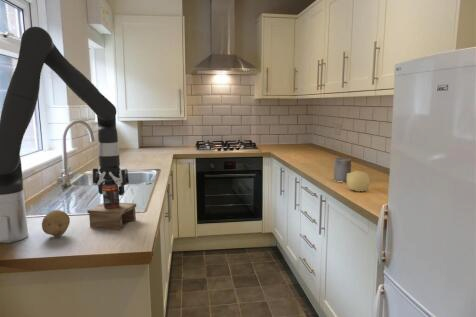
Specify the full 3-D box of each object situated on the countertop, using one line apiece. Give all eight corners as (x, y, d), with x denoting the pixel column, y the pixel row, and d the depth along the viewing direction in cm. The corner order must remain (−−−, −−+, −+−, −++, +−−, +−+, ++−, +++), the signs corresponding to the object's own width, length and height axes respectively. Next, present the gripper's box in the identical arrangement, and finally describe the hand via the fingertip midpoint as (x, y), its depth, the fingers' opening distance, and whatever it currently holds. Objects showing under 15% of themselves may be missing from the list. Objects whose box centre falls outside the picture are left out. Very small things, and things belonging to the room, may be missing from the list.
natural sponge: (64, 241, 122) (62, 214, 120) (38, 242, 121) (35, 215, 120) (74, 232, 131) (72, 206, 129) (50, 233, 130) (47, 207, 129)
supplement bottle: (121, 204, 142) (119, 177, 140) (117, 209, 136) (115, 180, 134) (106, 204, 141) (104, 177, 140) (101, 209, 135) (99, 180, 134)
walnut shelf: (121, 230, 132) (119, 212, 131) (88, 227, 136) (87, 210, 134) (137, 220, 144) (136, 203, 143) (106, 217, 147) (105, 201, 146)
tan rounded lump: (364, 187, 195) (365, 168, 193) (372, 193, 183) (373, 173, 181) (343, 187, 195) (344, 168, 193) (350, 193, 183) (351, 173, 181)
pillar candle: (346, 179, 216) (346, 155, 214) (353, 182, 207) (354, 157, 204) (331, 180, 215) (331, 155, 212) (337, 183, 205) (338, 158, 203)
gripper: (86, 154, 133) (89, 196, 136) (120, 155, 130) (122, 198, 132) (98, 152, 140) (101, 191, 143) (130, 153, 137) (132, 193, 140)
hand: (111, 194), depth 138 cm, fingers open, 8 cm apart
